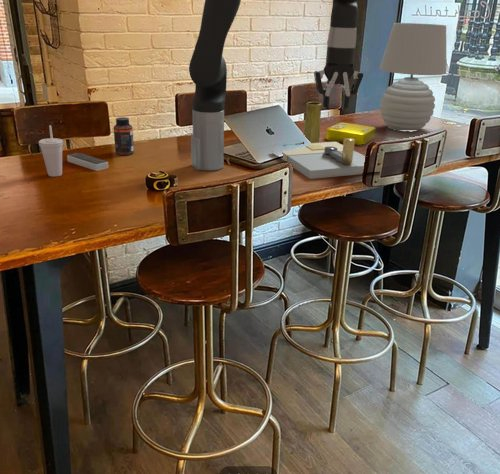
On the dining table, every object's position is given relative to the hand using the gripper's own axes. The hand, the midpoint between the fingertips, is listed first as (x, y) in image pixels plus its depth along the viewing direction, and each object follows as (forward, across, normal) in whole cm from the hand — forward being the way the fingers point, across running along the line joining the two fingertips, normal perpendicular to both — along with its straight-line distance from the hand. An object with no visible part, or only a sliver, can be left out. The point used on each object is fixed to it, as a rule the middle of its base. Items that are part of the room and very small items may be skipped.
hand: (335, 108), depth 148 cm
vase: (+20, +2, +36) cm, 41 cm away
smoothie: (+20, -79, 0) cm, 82 cm away
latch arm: (+16, +4, +6) cm, 17 cm away
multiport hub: (+20, -72, +10) cm, 75 cm away
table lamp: (+20, +46, +59) cm, 77 cm away
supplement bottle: (+20, -62, +22) cm, 69 cm away
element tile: (+20, +19, +44) cm, 52 cm away
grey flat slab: (+19, +1, +12) cm, 23 cm away
